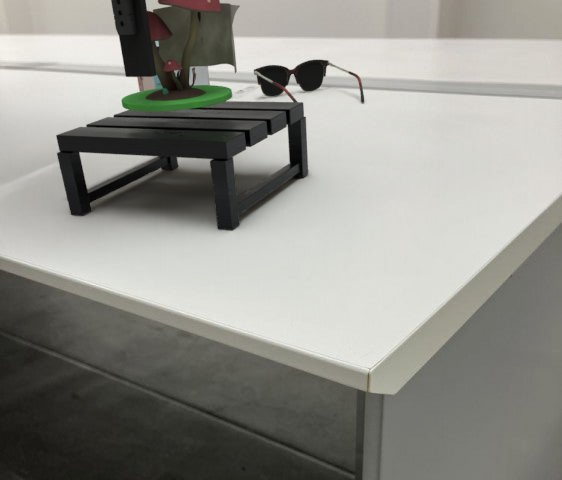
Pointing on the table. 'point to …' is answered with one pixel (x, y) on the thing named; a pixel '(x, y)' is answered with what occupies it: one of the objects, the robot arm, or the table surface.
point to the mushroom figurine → (187, 54)
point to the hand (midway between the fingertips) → (178, 65)
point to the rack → (186, 149)
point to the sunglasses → (296, 77)
